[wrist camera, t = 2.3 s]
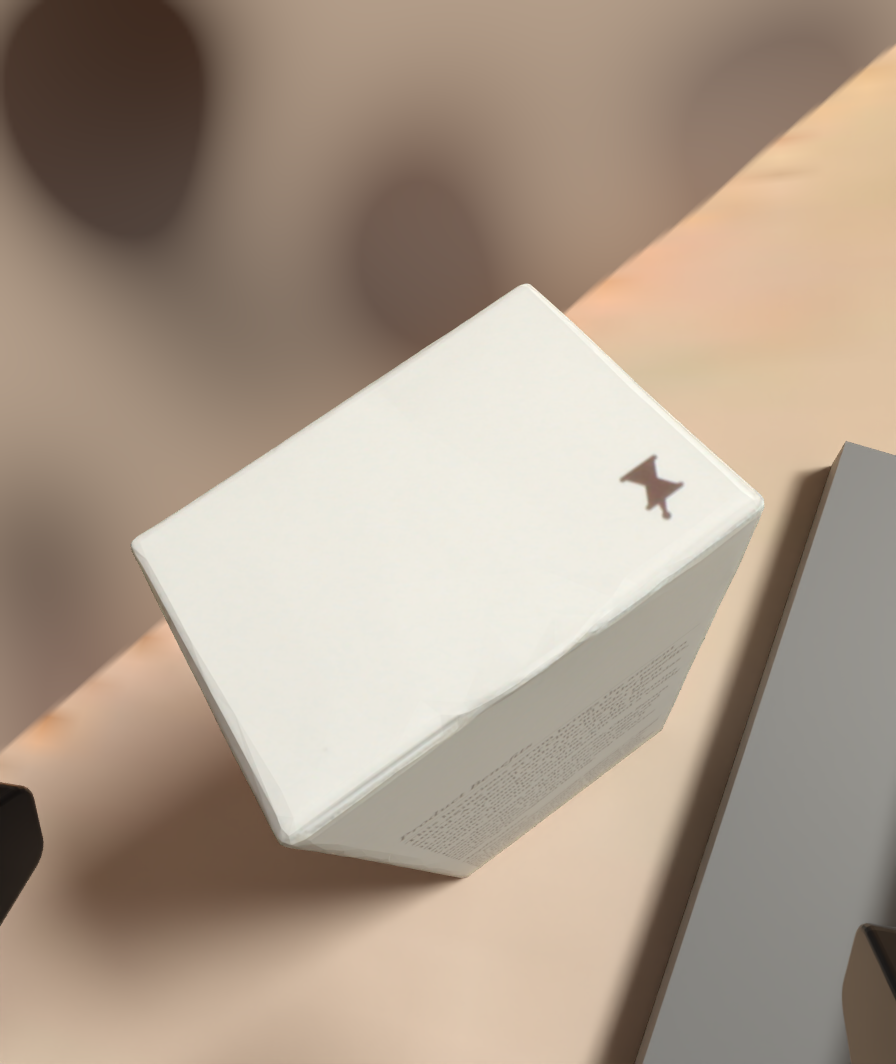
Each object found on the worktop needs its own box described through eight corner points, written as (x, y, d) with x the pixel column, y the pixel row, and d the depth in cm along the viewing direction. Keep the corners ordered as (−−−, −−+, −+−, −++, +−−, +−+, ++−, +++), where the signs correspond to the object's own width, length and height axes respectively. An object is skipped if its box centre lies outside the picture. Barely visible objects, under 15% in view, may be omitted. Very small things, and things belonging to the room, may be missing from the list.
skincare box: (555, 597, 20) (537, 262, 10) (666, 730, 19) (794, 501, 8) (363, 734, 20) (110, 534, 9) (458, 888, 18) (284, 871, 7)
